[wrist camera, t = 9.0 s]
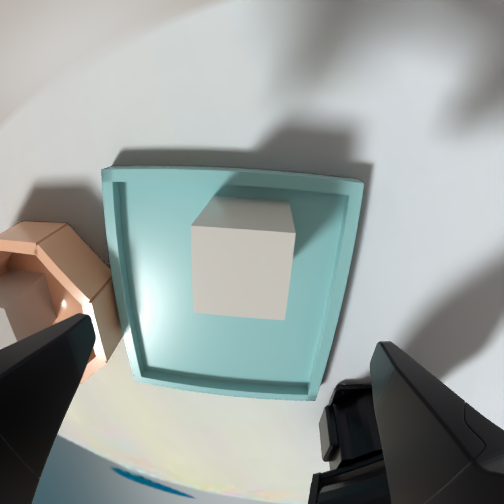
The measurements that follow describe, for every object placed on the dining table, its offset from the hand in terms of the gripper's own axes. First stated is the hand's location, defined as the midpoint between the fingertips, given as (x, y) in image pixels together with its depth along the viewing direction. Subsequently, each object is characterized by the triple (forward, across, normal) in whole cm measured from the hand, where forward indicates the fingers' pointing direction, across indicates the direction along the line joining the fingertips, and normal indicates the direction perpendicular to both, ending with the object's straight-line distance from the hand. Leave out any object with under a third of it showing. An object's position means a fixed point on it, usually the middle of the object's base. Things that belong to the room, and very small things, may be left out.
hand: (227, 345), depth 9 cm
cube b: (+9, +17, +6) cm, 20 cm away
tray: (+10, +1, +4) cm, 11 cm away
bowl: (+10, +15, +6) cm, 18 cm away
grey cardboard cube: (+9, 0, 0) cm, 9 cm away
